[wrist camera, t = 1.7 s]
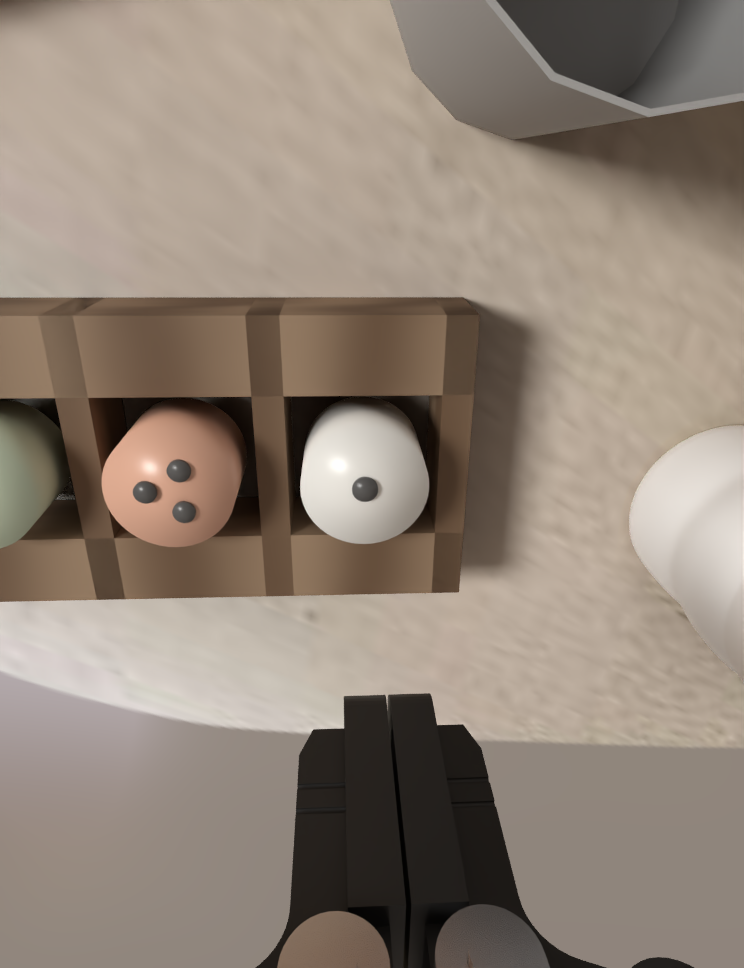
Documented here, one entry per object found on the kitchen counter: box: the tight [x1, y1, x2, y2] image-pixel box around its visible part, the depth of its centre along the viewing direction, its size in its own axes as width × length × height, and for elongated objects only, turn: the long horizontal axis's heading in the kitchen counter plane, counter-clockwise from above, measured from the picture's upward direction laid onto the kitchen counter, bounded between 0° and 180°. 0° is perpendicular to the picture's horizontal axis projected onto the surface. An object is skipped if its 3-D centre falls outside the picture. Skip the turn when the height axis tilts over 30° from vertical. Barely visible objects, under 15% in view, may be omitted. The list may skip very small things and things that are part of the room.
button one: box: [300, 396, 429, 544], centre depth 22 cm, size 4×4×3 cm
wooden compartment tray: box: [0, 298, 480, 602], centre depth 23 cm, size 19×10×3 cm, turn 90°
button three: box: [102, 398, 247, 547], centre depth 21 cm, size 4×4×3 cm
